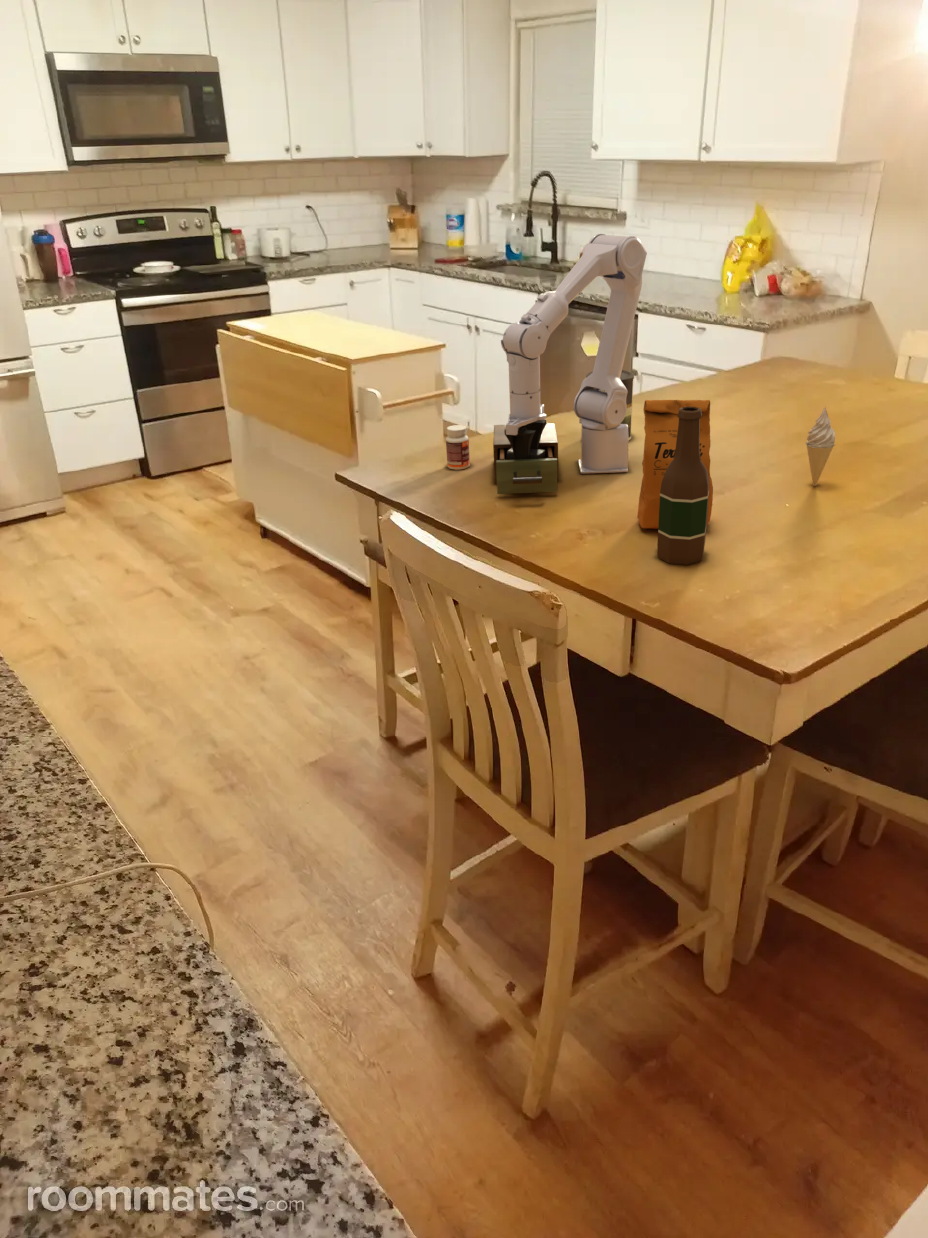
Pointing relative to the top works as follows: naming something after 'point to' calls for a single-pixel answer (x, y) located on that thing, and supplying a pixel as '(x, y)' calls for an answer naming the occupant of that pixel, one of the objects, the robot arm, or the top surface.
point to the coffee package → (667, 452)
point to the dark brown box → (533, 454)
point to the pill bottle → (457, 447)
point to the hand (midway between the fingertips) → (526, 461)
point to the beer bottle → (684, 496)
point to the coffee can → (628, 383)
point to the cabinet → (546, 440)
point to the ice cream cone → (820, 445)
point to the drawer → (526, 473)
